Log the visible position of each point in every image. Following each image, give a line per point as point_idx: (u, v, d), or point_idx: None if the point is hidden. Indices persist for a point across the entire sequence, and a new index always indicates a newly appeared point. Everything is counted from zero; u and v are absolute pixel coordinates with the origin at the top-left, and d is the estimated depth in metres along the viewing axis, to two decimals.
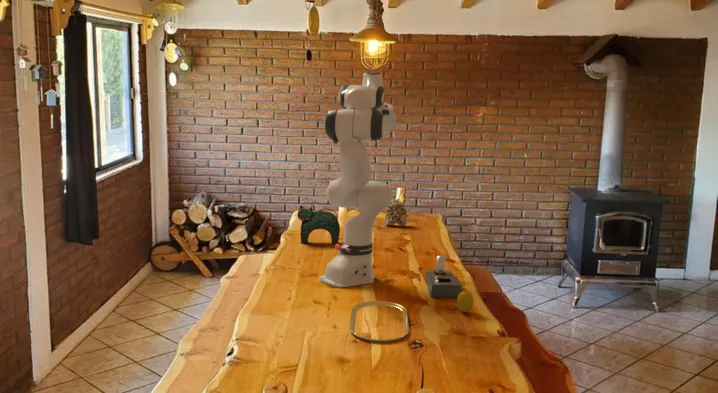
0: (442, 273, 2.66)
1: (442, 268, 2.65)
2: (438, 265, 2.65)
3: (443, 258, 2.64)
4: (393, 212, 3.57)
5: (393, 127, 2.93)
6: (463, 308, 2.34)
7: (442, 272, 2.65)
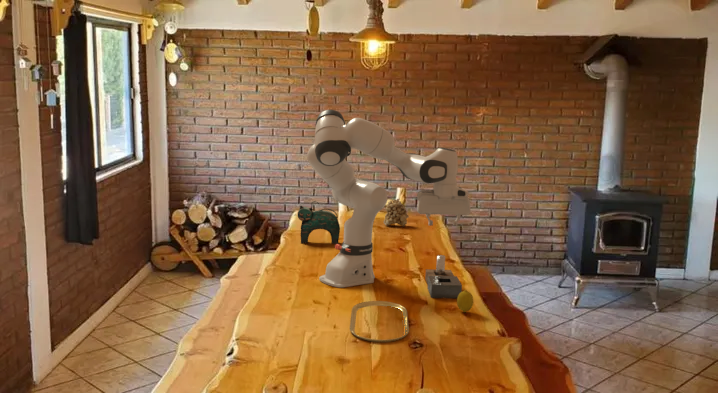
0: (442, 273, 2.66)
1: (442, 268, 2.65)
2: (438, 265, 2.65)
3: (443, 258, 2.64)
4: (393, 212, 3.57)
5: (468, 211, 2.61)
6: (463, 308, 2.34)
7: (442, 272, 2.65)
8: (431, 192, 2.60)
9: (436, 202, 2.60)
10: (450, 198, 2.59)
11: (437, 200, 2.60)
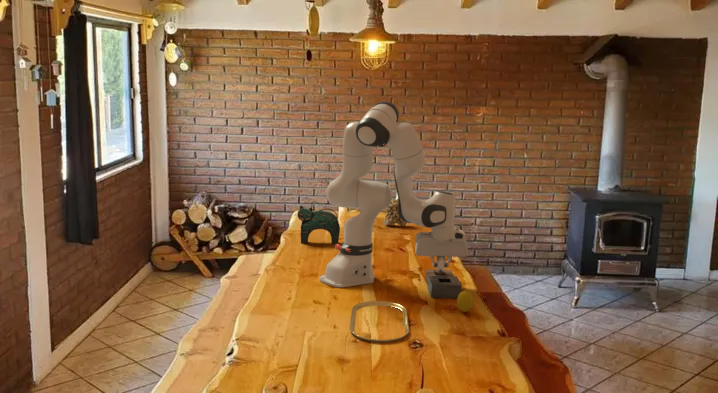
0: (442, 273, 2.66)
1: (442, 268, 2.65)
2: (438, 265, 2.65)
3: (443, 258, 2.64)
4: (393, 212, 3.57)
5: (465, 253, 2.64)
6: (463, 308, 2.34)
7: (442, 272, 2.65)
8: (429, 234, 2.63)
9: (434, 244, 2.63)
10: (448, 240, 2.62)
11: (435, 242, 2.63)
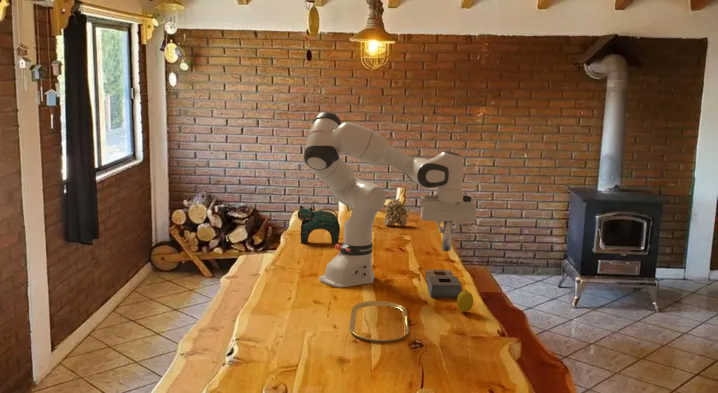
0: (449, 239, 2.51)
1: (449, 234, 2.51)
2: (445, 231, 2.51)
3: (450, 223, 2.50)
4: (393, 212, 3.57)
5: (473, 218, 2.50)
6: (463, 308, 2.34)
7: (449, 238, 2.51)
8: (435, 198, 2.49)
9: (440, 208, 2.49)
10: (455, 204, 2.48)
11: (441, 206, 2.49)
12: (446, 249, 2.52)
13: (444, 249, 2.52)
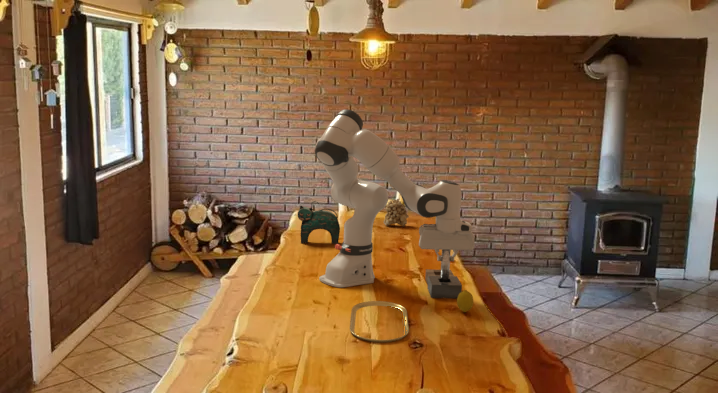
0: (447, 267, 2.52)
1: (447, 262, 2.52)
2: (443, 259, 2.52)
3: (448, 252, 2.51)
4: (393, 212, 3.57)
5: (472, 246, 2.50)
6: (463, 308, 2.34)
7: (447, 266, 2.52)
8: (433, 226, 2.50)
9: (438, 237, 2.50)
10: (453, 233, 2.49)
11: (440, 235, 2.50)
12: (444, 277, 2.53)
13: (442, 277, 2.53)
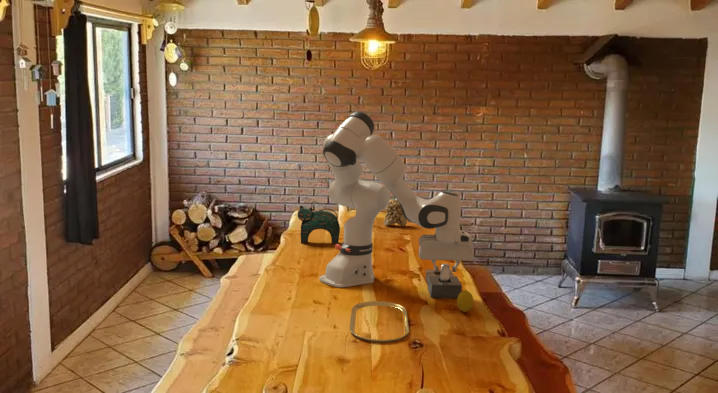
0: None
1: (446, 277, 2.53)
2: (442, 274, 2.53)
3: (447, 267, 2.53)
4: (393, 212, 3.57)
5: (471, 257, 2.52)
6: (463, 308, 2.34)
7: None
8: (433, 237, 2.51)
9: (438, 247, 2.51)
10: (453, 243, 2.50)
11: (439, 245, 2.51)
12: None
13: None
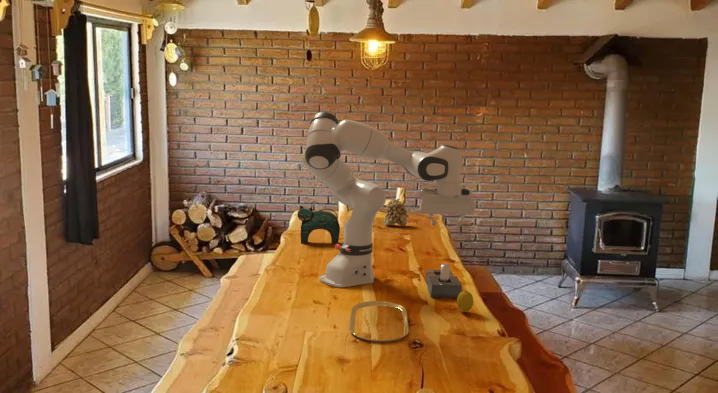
0: None
1: (446, 277, 2.53)
2: (442, 274, 2.53)
3: (447, 267, 2.53)
4: (393, 212, 3.57)
5: (472, 211, 2.52)
6: (463, 308, 2.34)
7: None
8: (434, 191, 2.52)
9: (439, 201, 2.52)
10: (454, 197, 2.51)
11: (440, 199, 2.52)
12: None
13: None
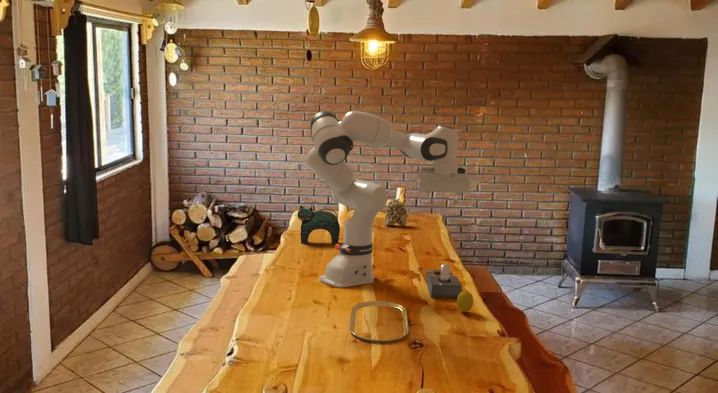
0: None
1: (446, 277, 2.53)
2: (442, 274, 2.53)
3: (447, 267, 2.53)
4: (393, 212, 3.57)
5: (467, 189, 2.63)
6: (463, 308, 2.34)
7: None
8: (431, 170, 2.63)
9: (436, 180, 2.62)
10: (450, 176, 2.61)
11: (437, 178, 2.62)
12: None
13: None
